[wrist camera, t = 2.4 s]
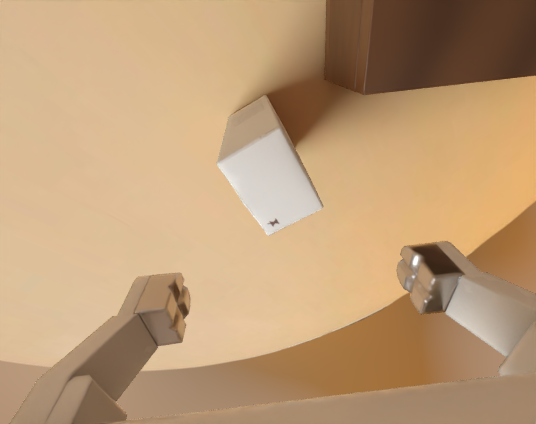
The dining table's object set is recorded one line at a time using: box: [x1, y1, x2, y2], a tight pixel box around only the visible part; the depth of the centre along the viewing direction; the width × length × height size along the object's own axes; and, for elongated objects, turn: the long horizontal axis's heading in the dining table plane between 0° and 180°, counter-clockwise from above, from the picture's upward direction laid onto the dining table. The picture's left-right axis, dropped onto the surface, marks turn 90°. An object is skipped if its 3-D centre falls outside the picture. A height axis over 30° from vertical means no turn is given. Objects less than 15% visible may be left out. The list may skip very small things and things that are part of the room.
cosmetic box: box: [217, 95, 323, 235], centre depth 20 cm, size 6×4×12 cm
